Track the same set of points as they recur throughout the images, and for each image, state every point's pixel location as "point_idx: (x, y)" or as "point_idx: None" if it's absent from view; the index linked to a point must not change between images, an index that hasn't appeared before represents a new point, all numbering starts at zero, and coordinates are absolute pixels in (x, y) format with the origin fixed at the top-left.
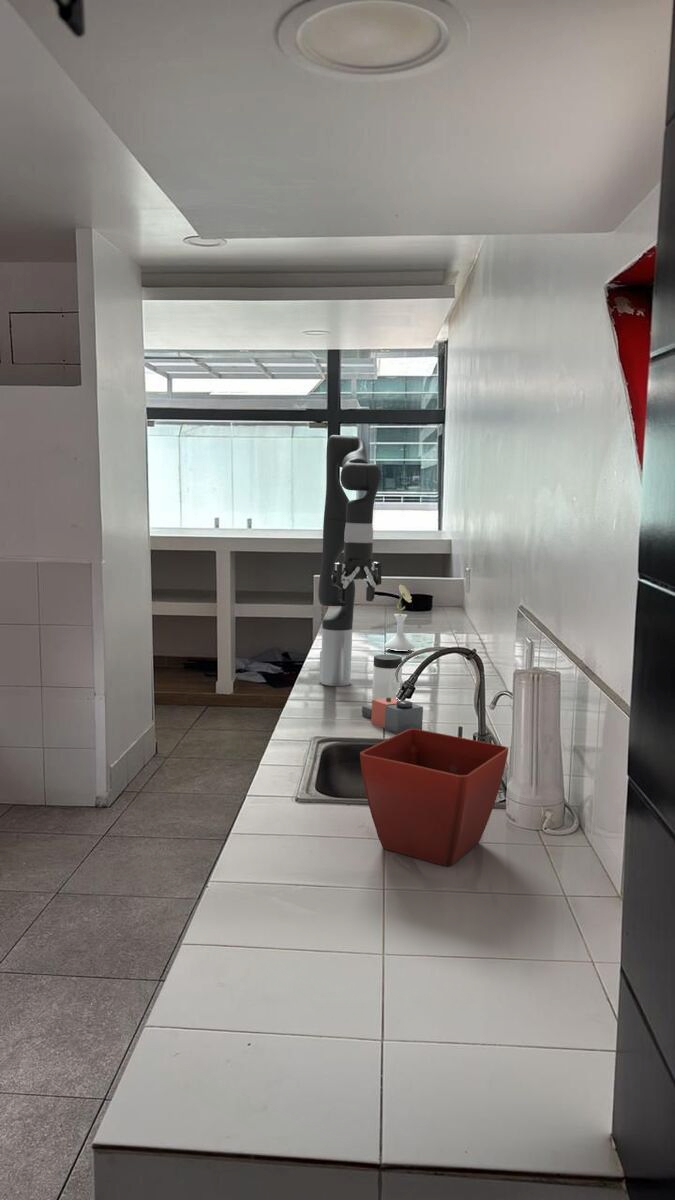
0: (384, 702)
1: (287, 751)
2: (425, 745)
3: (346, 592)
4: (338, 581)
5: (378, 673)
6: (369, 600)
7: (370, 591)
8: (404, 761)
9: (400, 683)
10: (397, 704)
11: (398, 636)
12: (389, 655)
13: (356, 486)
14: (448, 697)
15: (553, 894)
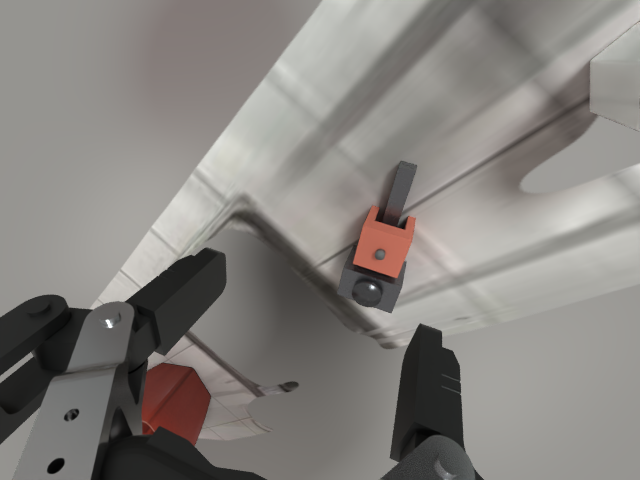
0: (363, 253)
1: (183, 212)
2: (161, 420)
3: (179, 334)
4: (37, 376)
5: (629, 80)
6: (407, 350)
7: (398, 418)
8: (154, 400)
9: None
10: (353, 287)
11: None
12: None
13: None
14: None
15: (205, 424)
